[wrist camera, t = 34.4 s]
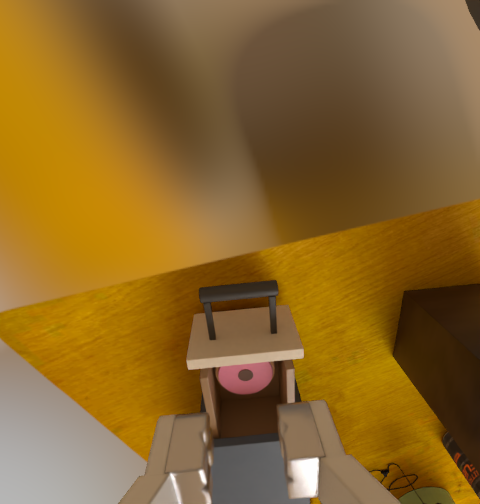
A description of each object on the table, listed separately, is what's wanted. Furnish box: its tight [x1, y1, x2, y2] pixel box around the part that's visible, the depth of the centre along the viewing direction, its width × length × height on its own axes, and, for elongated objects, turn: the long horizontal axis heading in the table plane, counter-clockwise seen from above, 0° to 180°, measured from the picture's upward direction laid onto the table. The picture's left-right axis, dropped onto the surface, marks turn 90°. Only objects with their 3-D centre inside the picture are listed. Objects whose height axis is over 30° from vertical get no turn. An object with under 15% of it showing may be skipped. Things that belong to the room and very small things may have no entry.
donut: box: [216, 361, 275, 394], centre depth 31 cm, size 6×6×3 cm
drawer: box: [186, 280, 303, 439], centre depth 30 cm, size 19×11×7 cm, turn 5°
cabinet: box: [200, 376, 310, 504], centre depth 36 cm, size 15×12×9 cm
